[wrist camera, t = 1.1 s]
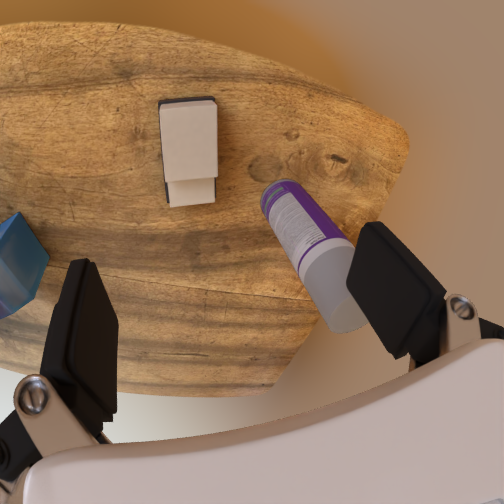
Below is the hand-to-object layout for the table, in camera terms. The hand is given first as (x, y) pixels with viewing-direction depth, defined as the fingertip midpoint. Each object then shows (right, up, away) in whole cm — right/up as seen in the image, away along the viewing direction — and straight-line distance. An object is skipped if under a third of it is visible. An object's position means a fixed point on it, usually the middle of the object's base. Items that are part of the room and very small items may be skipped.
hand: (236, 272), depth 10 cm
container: (+4, +6, +19) cm, 21 cm away
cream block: (-5, +9, +14) cm, 17 cm away
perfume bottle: (-25, +1, +14) cm, 28 cm away
